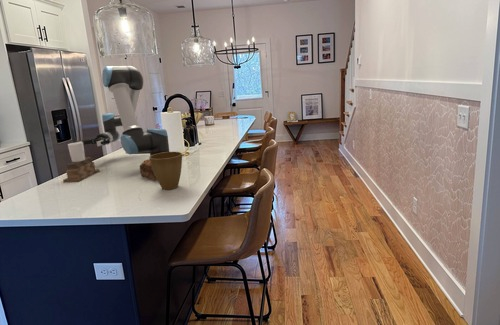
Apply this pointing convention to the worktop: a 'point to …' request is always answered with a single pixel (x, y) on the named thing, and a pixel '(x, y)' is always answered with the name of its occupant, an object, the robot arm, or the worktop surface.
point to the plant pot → (167, 168)
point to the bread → (147, 170)
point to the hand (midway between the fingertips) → (86, 144)
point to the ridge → (80, 170)
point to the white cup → (76, 151)
